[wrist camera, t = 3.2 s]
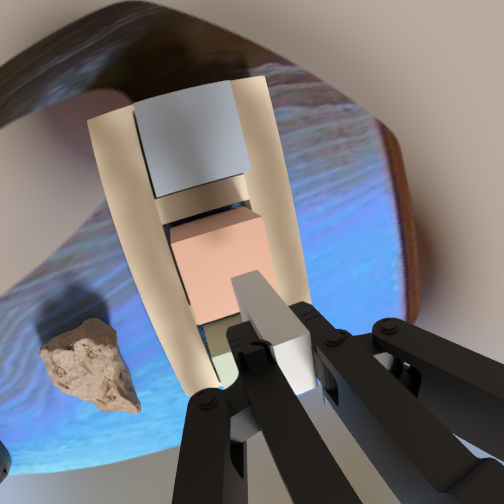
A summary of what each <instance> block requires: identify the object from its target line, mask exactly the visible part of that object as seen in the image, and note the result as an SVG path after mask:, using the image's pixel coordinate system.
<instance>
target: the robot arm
mask: <svg viewBox="0 0 504 504" xmlns="http://www.w3.org/2000/svg"><path fill="white" fill-rule="evenodd" d="M230 279H231V283H232V286H233V290H234V293H235V297H236V300H237V304H238V307H239V310H240V314H241V317H242V321H243V323H240V324H237V325H234V326H231V327H228V329H227V332H226V338H227V341H228V343H229V346H230V349H231V352H232V355H233V358H234V361H235V363H236V366H237V369H238V372H239V373H238V377H237V379H236V380H235V381H234V383H233V384H232V385H230V386H229V387H227V388H226V389H224V390H221V389H218V388H205V389H202V390H200V391H198V392H196V393H195V394H194V395H193V396H192V397H191V398H190V400H189V402H188V407H187V412H186V418H185V423H184V429H183V435H182V441H181V447H180V453H179V459H178V465H177V472H176V478H175V484H174V491H173V498H172V504H248V482H247V442H246V440H247V439H248V438H250V437H252V436H253V435H255V434H256V433H258V432H259V431H262V434H263V436H264V438H265V441H266V443H267V446H268V448H269V450H270V453H271V455H272V457H273V460H274V462H275V464H276V466H277V469H278V471H279V474H280V476H281V478H282V480H283V483H284V485H285V487H286V489H287V492H288V494H289V496H290V498H291V500H292V503H293V504H363V503H362V502H361V500H360V499H359V497H358V496H357V494H356V492H355V491H354V489H353V488H352V486H351V485H350V483H349V481H348V480H347V478H346V477H345V475H344V474H343V472H342V470H341V469H340V467H339V465H338V464H337V462H336V461H335V459H334V457H333V456H332V454H331V453H330V451H329V449H328V448H327V446H326V444H325V443H324V441H323V440H322V438H321V436H320V435H319V433H318V431H317V430H316V428H315V426H314V425H313V423H312V421H311V420H310V418H309V416H308V415H307V413H306V411H305V410H304V408H303V406H302V405H301V403H300V401H299V400H298V398H297V396H296V395H298V394H301V393H303V392H306V391H308V390H310V389H313V388H315V387H318V383H317V378H318V380H319V381H320V382H321V384H322V390H323V399H324V404H325V407H326V406H328V402H327V400H328V401H329V403H330V404H331V405H332V407H333V409H334V410H335V411H336V413H337V414H338V416H339V417H340V419H341V420H342V421H343V423H344V424H345V426H346V427H347V428H348V430H349V432H350V433H351V434H352V436H353V437H354V439H355V440H356V441H357V443H358V444H359V445H360V447H361V449H362V450H363V451H364V453H365V454H366V455H367V457H368V458H369V460H370V461H371V463H372V464H373V465H374V467H375V468H376V470H377V471H378V472H379V474H380V475H381V476H382V478H383V479H384V481H385V482H386V483H387V485H388V486H389V487H390V489H391V490H392V492H393V493H394V494H395V496H396V497H397V499H398V500H399V501H400V503H401V504H504V466H503V465H502V464H501V463H500V462H498V461H497V460H496V459H493V458H489V457H488V458H482V459H480V458H477V457H476V456H474V455H473V454H472V453H471V452H470V451H469V450H468V449H467V448H466V447H465V446H464V445H463V444H462V443H461V442H460V441H459V440H458V439H457V438H456V437H455V436H454V435H453V434H455V435H457V436H458V437H460V438H462V439H464V440H465V441H467V442H469V443H471V444H472V445H474V446H476V447H478V448H480V449H481V450H483V451H485V452H487V453H488V454H490V455H492V456H494V457H496V458H497V459H499V460H501V461H503V462H504V364H502V363H499V362H497V361H495V360H492V359H490V358H488V357H485V356H483V355H481V354H479V353H476V352H474V351H472V350H469V349H467V348H465V347H462V346H460V345H458V344H456V343H453V342H451V341H449V340H446V339H444V338H442V337H439V336H437V335H435V334H433V333H430V332H428V331H426V330H423V329H421V328H419V327H417V326H414V325H412V324H410V323H407V322H405V321H403V320H401V319H397V318H384V319H381V320H379V321H377V322H376V323H375V324H374V325H373V328H372V333H367V334H363V335H356V336H352V335H351V334H350V333H349V332H347V331H346V330H341V329H335V328H334V327H333V326H332V325H331V324H330V323H329V322H328V321H327V320H326V319H325V318H324V317H323V316H322V315H321V314H320V313H319V312H318V311H317V310H316V309H315V308H314V307H313V306H312V305H311V304H309V303H306V302H304V301H301V302H298V303H295V304H292V305H290V306H287V304H286V303H285V302H284V301H283V300H282V298H281V297H280V296H279V295H278V294H277V292H276V291H275V290H274V289H273V288H272V286H271V285H270V284H269V283H268V281H267V280H266V279H265V278H264V277H263V275H262V274H261V273H260V272H259V271H258V269H257V270H254V271H251V272H248V273H245V274H242V275H238V276H235V277H232V278H230ZM404 362H406V363H408V364H410V366H407V365H405V364H404ZM452 433H453V434H452ZM11 464H12V461H11V457H10V455H9V453H8V451H7V450H6V448H5V447H4V446H3V444H2V443H1V442H0V483H1V482H2V481H3V480H4V479H5V478H6V476H7V475H8V473H9V471H10V467H11Z"/></svg>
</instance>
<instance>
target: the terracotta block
mask: <svg viewBox="0 0 504 504" xmlns="http://www.w3.org/2000/svg"><path fill="white" fill-rule="evenodd" d="M170 238H171V246H172V249H173V252H174V255H175V259H176V262H177V265H178V268H179V271H180V274H181V277H182V279H183V282H184V285H185V288H186V291H187V294H188V297H189V300H190V302H191V305H192V308H193V311H194V313H195V316H196V319H197V322H198V324H199V325H201V324H204V323H207V322H210V321H214V320H217V319H220V318H223V317H226V316H229V315H232V314H235V313H238V312H240V310H239V307H238V304H237V300H236V297H235V293H234V290H233V286H232V283H231V279H230V278H232V277H235V276H238V275H242V274H245V273H248V272H251V271H254V270H257V269H258V271H259V272H260V273H261V274H262V275H263V277H264V278H265V279H266V280H267V281H268V283H269V284H270V285H271V286H272V288H273V289H274V290H275V291H276V292H277V294H278V295H279V290H278V285H277V281H276V276H275V272H274V267H273V263H272V258H271V253H270V249H269V245H268V240H267V236H266V231H265V227H264V222H263V218H262V216H260V215H259V214H257V213H255V212H253V211H251V210H249V209H248V208H246V207H244V206H242V207H239V208H235V209H232V210H228V211H225V212H221V213H218V214H215V215H211V216H208V217H205V218H201V219H198V220H195V221H191V222H188V223H185V224H181V225H178V226H175V227H172V228H170ZM279 296H280V295H279Z"/></svg>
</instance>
